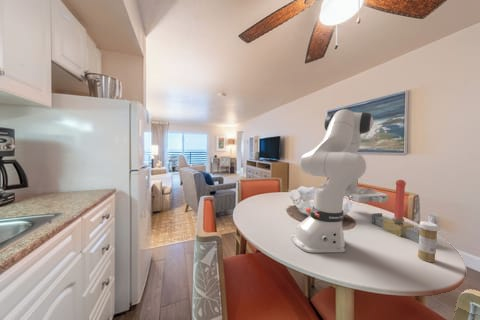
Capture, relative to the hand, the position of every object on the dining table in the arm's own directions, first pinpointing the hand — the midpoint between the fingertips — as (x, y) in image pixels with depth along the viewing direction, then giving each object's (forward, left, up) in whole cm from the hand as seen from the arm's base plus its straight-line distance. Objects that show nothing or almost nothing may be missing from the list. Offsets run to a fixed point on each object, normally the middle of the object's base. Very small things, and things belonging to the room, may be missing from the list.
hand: (383, 201), depth 93 cm
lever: (0, -8, -7) cm, 10 cm away
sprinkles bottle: (-13, -27, -13) cm, 32 cm away
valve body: (0, -8, -13) cm, 15 cm away
